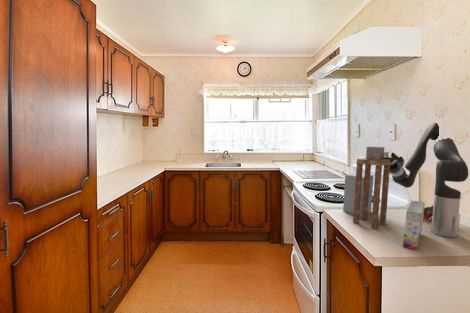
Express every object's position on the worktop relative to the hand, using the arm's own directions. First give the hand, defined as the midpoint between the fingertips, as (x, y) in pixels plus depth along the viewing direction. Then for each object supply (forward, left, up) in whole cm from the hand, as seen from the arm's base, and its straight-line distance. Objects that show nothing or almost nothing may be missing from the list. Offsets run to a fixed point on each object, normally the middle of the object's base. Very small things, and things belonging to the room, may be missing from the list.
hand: (383, 153), depth 138 cm
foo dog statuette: (-16, -21, -35) cm, 43 cm away
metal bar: (0, +3, -2) cm, 4 cm away
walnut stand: (0, +10, -34) cm, 36 cm away
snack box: (-21, +15, -35) cm, 43 cm away
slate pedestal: (+13, -4, -34) cm, 37 cm away
